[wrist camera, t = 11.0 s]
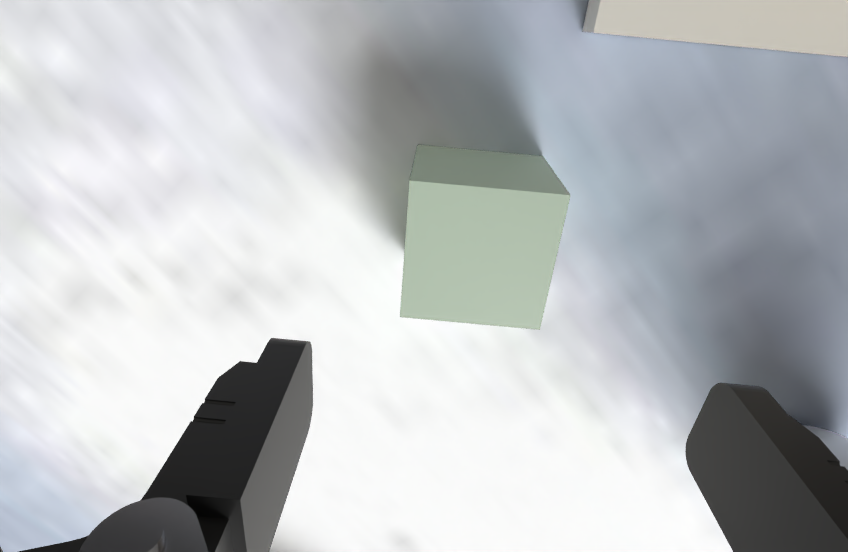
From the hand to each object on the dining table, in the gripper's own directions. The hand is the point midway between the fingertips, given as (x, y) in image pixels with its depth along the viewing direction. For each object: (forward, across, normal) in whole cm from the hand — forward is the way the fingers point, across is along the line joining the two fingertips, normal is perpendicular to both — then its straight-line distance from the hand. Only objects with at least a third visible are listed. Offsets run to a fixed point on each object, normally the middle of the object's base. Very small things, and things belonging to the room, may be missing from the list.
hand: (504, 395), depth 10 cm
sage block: (+12, 0, 0) cm, 12 cm away
